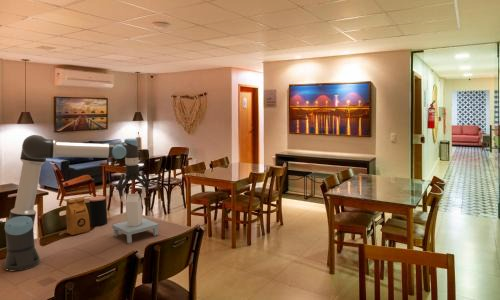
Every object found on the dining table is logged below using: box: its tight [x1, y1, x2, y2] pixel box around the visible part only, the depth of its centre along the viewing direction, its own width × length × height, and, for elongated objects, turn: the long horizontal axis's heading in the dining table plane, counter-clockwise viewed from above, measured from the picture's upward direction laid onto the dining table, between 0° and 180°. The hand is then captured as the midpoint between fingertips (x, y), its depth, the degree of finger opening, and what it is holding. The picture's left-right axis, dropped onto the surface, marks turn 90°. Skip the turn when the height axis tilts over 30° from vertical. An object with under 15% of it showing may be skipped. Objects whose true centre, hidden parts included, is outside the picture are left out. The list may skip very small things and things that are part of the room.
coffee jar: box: [88, 195, 108, 227], centre depth 246 cm, size 11×11×18 cm
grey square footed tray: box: [111, 217, 160, 244], centre depth 222 cm, size 20×20×7 cm
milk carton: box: [125, 193, 143, 226], centre depth 221 cm, size 7×7×19 cm
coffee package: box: [65, 197, 91, 236], centre depth 229 cm, size 10×12×22 cm
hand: (133, 199), depth 220 cm, fingers open, 13 cm apart
